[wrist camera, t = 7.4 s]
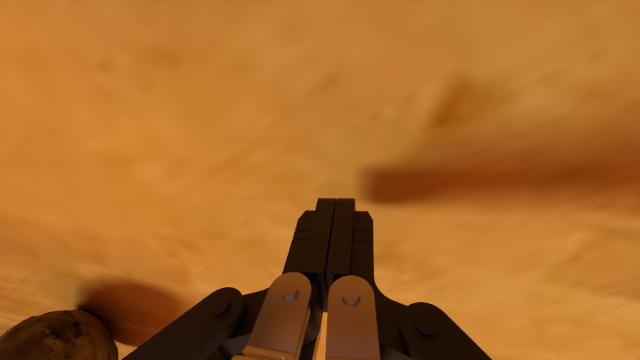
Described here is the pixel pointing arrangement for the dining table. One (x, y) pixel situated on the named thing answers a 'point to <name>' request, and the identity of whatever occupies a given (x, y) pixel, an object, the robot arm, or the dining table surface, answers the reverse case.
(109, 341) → the potato
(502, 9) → the dining table surface
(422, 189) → the dining table surface
